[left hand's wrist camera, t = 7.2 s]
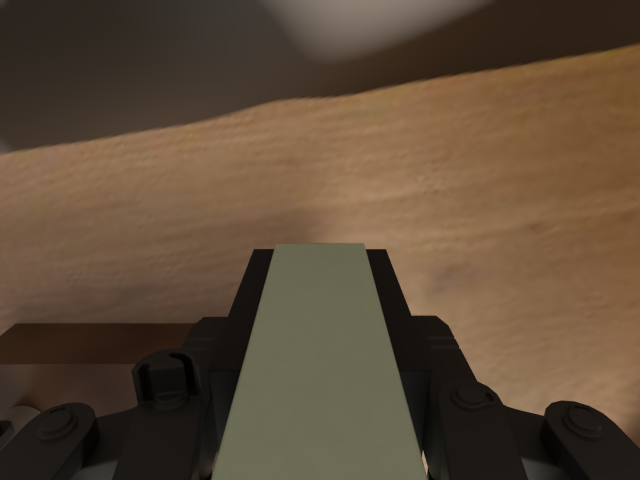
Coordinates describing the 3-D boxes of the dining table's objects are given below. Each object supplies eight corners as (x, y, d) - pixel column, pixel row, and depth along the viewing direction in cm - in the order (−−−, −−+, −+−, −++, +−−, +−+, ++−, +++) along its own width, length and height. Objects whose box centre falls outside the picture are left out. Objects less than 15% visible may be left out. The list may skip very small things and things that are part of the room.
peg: (364, 242, 15) (440, 518, 5) (361, 319, 16) (419, 656, 7) (275, 242, 15) (198, 519, 5) (278, 319, 16) (219, 656, 7)
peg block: (345, 323, 33) (358, 451, 21) (342, 421, 36) (352, 574, 25) (15, 323, 33) (-145, 451, 21) (45, 421, 36) (-77, 574, 25)
